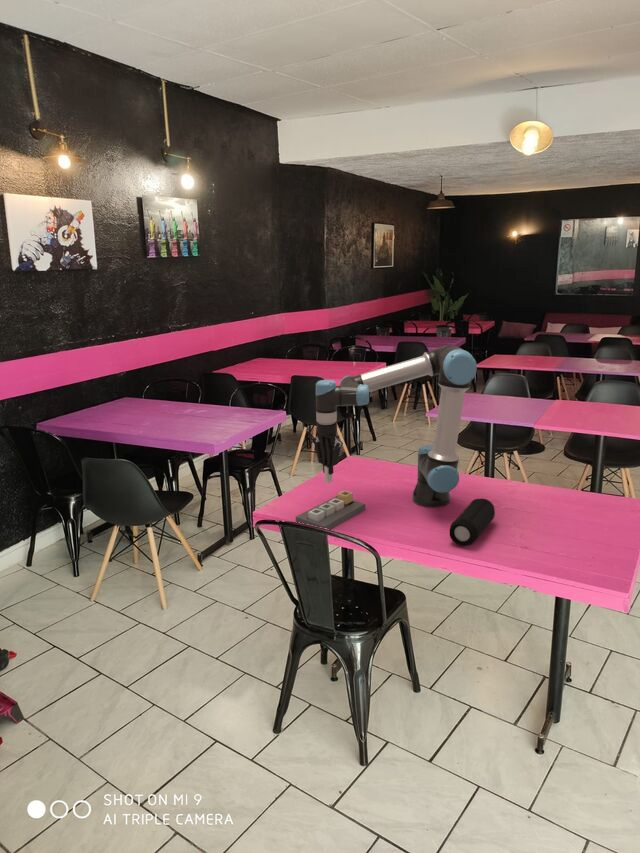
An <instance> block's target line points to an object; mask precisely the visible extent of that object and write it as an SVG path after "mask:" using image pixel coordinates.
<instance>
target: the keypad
mask: <svg viewBox="0 0 640 853" xmlns="http://www.w3.org/2000/svg"><path fill="white" fill-rule="evenodd" d="M335 498H336V499H338V496H337V495H336V496H334V497H332V498H330V499H328V500H325V501H323V502H322V503H320V504H318V505H316V506H314V507H312V508H310V509H309V510H307V511H304V512H302V513H301V514H299V515H297V516H295V523H296V522H300V523H304V524H309V525H313V526H317V527H322V528H327V529H330V530H332V529H334V528H335V527H337V526H339V525H341V524H342V523H344V522H346V521H348V520H350V519H352V518H354V517H355V516H356V515H358V514H360V513H362V512H363V511H366V503H363V502H362V501H357V500H354V499H353V501H352V502H350V503H348V504H344V508H343V509H341V510H339V511H335V513H334V514H332V515H330V516H328V517H327V516H325V519H323V520H321V521H319V522H315V521H312V520H309V519H308V512H309V511H311V510H313V509H315V508H316V509H318V507H319V506H321V505H323V504H325V503H327V504H328V502H329V501H331V500H333V499H335Z"/></svg>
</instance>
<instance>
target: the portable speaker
mask: <svg viewBox="0 0 640 853" xmlns="http://www.w3.org/2000/svg"><path fill="white" fill-rule="evenodd" d="M495 513H496V512H495V506H494V504H493V503H492V502H491V501H490V500H488V499H487V498H476V499H474V500H472V501H471V502H470V503H469V504H468V506H466V507H465V509H464V510H463V511H462V512H461V513H460V514H459V515H458V516H457V517H456V518H455V519H454V520H453V522H452V523H451V524H450V526H449V538H450V539H451V541H452V542H453V543H454V544H456V545H457V546H460V547H467V546H471V545H473V544H474V543H475V542H476V541H477V540H478V538H479V537H480V536H481V535H482V533H483V532H484V531H485V530H486V528H487V527H488V526H489V525H490V523H492V522H493V520H494V518H495Z"/></svg>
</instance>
